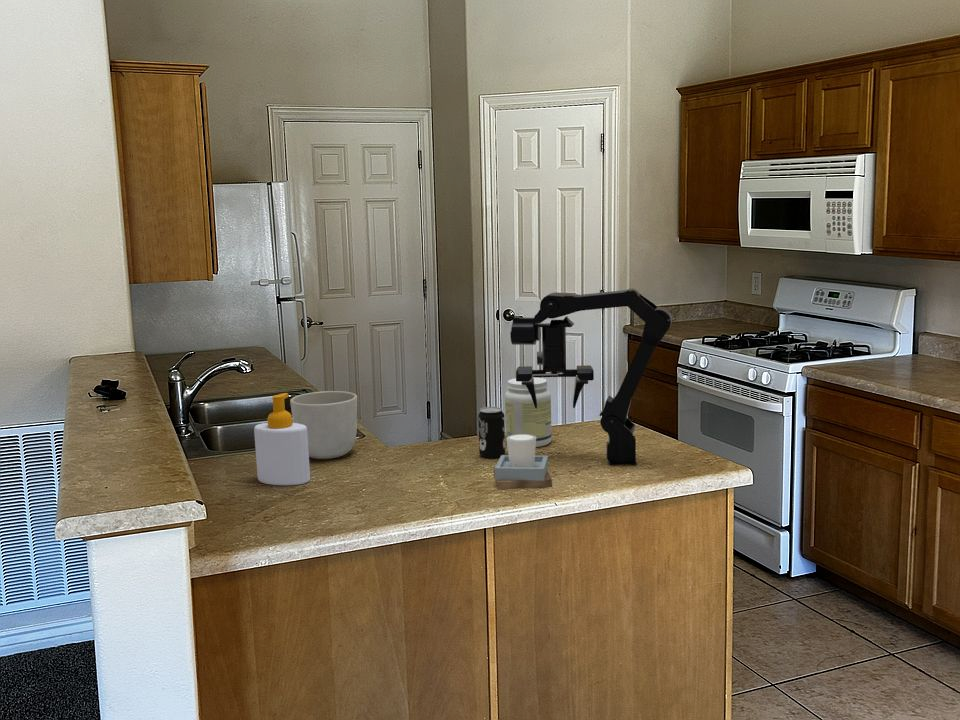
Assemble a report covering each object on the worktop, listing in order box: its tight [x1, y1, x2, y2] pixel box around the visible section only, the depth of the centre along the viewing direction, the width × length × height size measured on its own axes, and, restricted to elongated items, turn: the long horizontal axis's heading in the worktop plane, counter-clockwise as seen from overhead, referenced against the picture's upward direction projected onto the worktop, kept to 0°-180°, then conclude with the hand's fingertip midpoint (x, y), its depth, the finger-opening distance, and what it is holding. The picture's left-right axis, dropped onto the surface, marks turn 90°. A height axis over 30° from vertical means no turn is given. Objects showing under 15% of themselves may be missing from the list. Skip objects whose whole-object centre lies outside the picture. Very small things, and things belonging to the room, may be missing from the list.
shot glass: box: [506, 434, 537, 467], centre depth 203 cm, size 7×7×7 cm
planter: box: [289, 390, 358, 460], centre depth 229 cm, size 17×17×15 cm
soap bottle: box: [253, 392, 311, 486], centre depth 208 cm, size 13×8×20 cm, turn 71°
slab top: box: [494, 454, 549, 481], centre depth 204 cm, size 11×11×3 cm
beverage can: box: [477, 406, 506, 459], centre depth 225 cm, size 7×7×12 cm
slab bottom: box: [493, 466, 553, 490], centre depth 204 cm, size 12×12×2 cm
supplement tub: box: [504, 377, 553, 448], centre depth 235 cm, size 12×12×17 cm
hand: (555, 408), depth 218 cm, fingers open, 9 cm apart
